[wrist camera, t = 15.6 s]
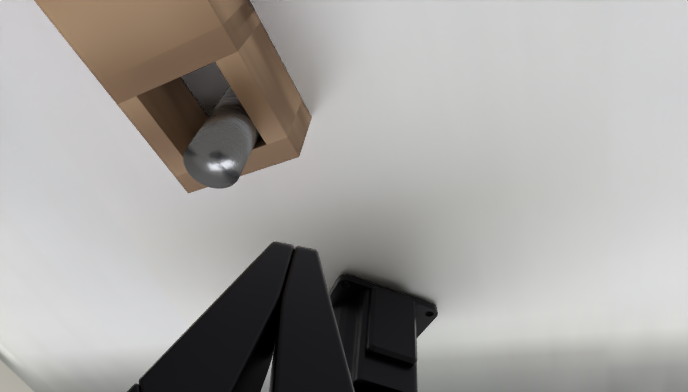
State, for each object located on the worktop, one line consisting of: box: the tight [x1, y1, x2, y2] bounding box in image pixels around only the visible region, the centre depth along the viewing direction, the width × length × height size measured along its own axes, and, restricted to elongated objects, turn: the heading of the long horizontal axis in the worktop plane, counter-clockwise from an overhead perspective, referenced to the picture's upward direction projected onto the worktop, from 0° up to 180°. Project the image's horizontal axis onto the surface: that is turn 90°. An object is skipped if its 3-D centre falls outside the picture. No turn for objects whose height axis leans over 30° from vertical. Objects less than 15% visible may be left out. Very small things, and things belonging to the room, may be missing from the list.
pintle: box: [183, 86, 260, 188], centre depth 18 cm, size 2×2×6 cm
